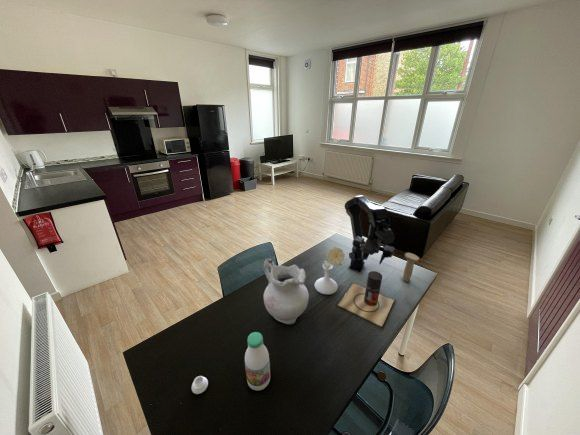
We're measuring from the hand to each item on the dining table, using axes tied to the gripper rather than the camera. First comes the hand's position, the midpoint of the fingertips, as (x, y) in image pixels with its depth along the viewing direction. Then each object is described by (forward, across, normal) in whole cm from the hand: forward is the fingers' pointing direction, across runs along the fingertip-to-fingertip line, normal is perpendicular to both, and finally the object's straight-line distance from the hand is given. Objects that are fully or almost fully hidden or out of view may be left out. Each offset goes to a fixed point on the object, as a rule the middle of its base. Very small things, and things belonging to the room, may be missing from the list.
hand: (370, 260), depth 118 cm
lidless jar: (+13, -26, -82) cm, 87 cm away
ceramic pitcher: (+13, -23, -41) cm, 49 cm away
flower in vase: (+13, -14, -17) cm, 26 cm away
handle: (+13, +16, +13) cm, 24 cm away
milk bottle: (+13, -12, -69) cm, 71 cm away
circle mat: (+13, +5, -15) cm, 20 cm away
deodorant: (+13, +6, -13) cm, 19 cm away
